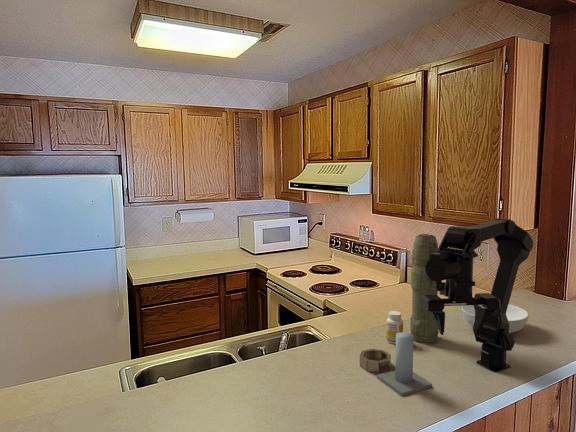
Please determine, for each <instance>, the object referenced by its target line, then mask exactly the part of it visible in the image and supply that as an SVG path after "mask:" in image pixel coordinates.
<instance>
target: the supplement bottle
mask: <svg viewBox="0 0 576 432" xmlns="http://www.w3.org/2000/svg"><path fill="white" fill-rule="evenodd" d="M385 326H386V328H385V331H386V337H385V341H386V342H388V343H389V344H391V345H396V334H397V333H400V332H404V320H403V318H402V313H401V311H397V310H391V311H388V318H387V319H386V325H385Z"/></svg>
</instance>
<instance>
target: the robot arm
mask: <svg viewBox="0 0 576 432" xmlns="http://www.w3.org/2000/svg"><path fill="white" fill-rule="evenodd" d="M490 239H491V240H492V239H493V240H494V241H495V243H496V245H497V247H496V251H497V254H498V257H499V263H498V267H497V269H496V274H495V277H494V281H493V284H492V287H491V292H481V293H477V292H476V293H475V294H474V296H473V287H476V281H474V280H473V278H474V275H473V274H474V272H473V271H474V258H478V257H479V254H478V253H477V252H476V251H475V250H476V249H478V248H480V247H481V246H482V243H483V242H485V241H487V240H490ZM533 247H534V240H533V238H532V237H531V236H530V234H529V232H528V231H527V230H525V229H523V228H521V227H520V226H519V225H517V223H516V222H515V221H514V220H512V219H509V218H498V217H497V218H494V219H492V220H490V221H486V222H483V223H479V224H475V225H471V226H463V225H461V226H460V225H457V226H456V225H454V226H453V225H452V226H449V227H448V228H447V229H446V231H445V233H444V235H443V238H442V240H441V241H440V243H439V244H438V250H437V253H433V254H432V259H430V260H428V262H427V264H426V266H425V271H426V274H427V276H428V277H429V278H430V279H431V280H433V284H432V286H433V291H438V294H439V295H438V296H437V295H423V296H422V298H421V305H422V306H423V307H424V308H425V309H426V310H428V311H430V312H431V313H432V314H433V315H434V317H435V320H436V323H437V326H438V329H439V334H440V335H441V336H444V335H445V334H444V333H445V324H446V312H445V311H444V309H445V307H456V306H459V307H460V306H461V307H462V306H463V305H474V309H475V322H474V326H472V329H473V335H474V338H475V341H476V342H477V343H480V344H481V350H480V359H478V360H476V364H478V365H480V366H482V367H484V368H486V369H487V370H491V371H492V372H495V373H498V372H501V371H504V370H508V369H510V368H512V365H511V364H509V363H507V352H511V351H513V348H514V347H515V340H516V339H514V337H513V336H512V333H509V332H508V331H509V322H508V319H507V316H506V311H507V308H508V304H509V303H510V299H511V296H512V292H513V289H514V287H515V286H514V285H515V281H516V278H517V274H518V270H519V267H520V265H521V264H522V263H523V262H525V261H526V260H527V259H528V258H529V257H530V253H531V251H532V249H533ZM443 281H444V282H443ZM442 295H443V296H444V297H445V298H444V297H443V298H442V297H440V296H442ZM446 297H447V298H446Z"/></svg>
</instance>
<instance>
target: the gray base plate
mask: <svg viewBox="0 0 576 432" xmlns="http://www.w3.org/2000/svg"><path fill="white" fill-rule="evenodd" d="M395 372H396V369H395V370H389V371H385V372H382V373H378V374H376V379H377V380H379V381H380V382H382V383H383V384H384V385H385V386H386V387H388V388H389V389H391V390H393V391H394V392H396V394H398V395H399V396H401V397H404V396H406V395H409V394H413V393H417V392H419V391H423V390H426V389H429V388H432V387H433V383H431V382H430V381H429V380H427V379H425V378H424V377H422V376H421V375H419V374H417V373H415V372H414V371H413V381H412V382H411V383H409V384H404V383H400V382H398V381H397V380H396V379H395Z"/></svg>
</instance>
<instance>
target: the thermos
mask: <svg viewBox="0 0 576 432" xmlns="http://www.w3.org/2000/svg"><path fill="white" fill-rule="evenodd" d="M412 247H413V248H412V250H411V253H412V254H411V255H412V256H411V258H412V259H411V272H410V286H411V289H412V290H411V291H412V293H411V294H412V299H411V300H412V302H411V305H412V307H411V308H412V309H411V310H412V312H411V315H410V323H409V327H410V329H409V330H410V334H412V335H413V342H415V343H418V344H423V345H433V344H436V343H438V342H437V341H439V336H438V335H439V334H440V332H439V329H438V326H437V323H436V320H435V317H434V315H433V314H432V313H431V312H430V311H428V310H426V309H425V308H424V307H423V306H422V305H421V298H422V296H423V295H437V296H439V295H438V294H439V291H433V286H432V284H433V280H431V279H430V278H429V277H428V276H427V274H426V271H425V266H426V264H427V262H428V260H430V259H432V254H433V253H437V250H438V247H439V243H438V241H437V237H436V236H434V235H433V234H427V233H425V234H424V233H422V234H418V235H416V236H415V239H414V241H413V246H412Z"/></svg>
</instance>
